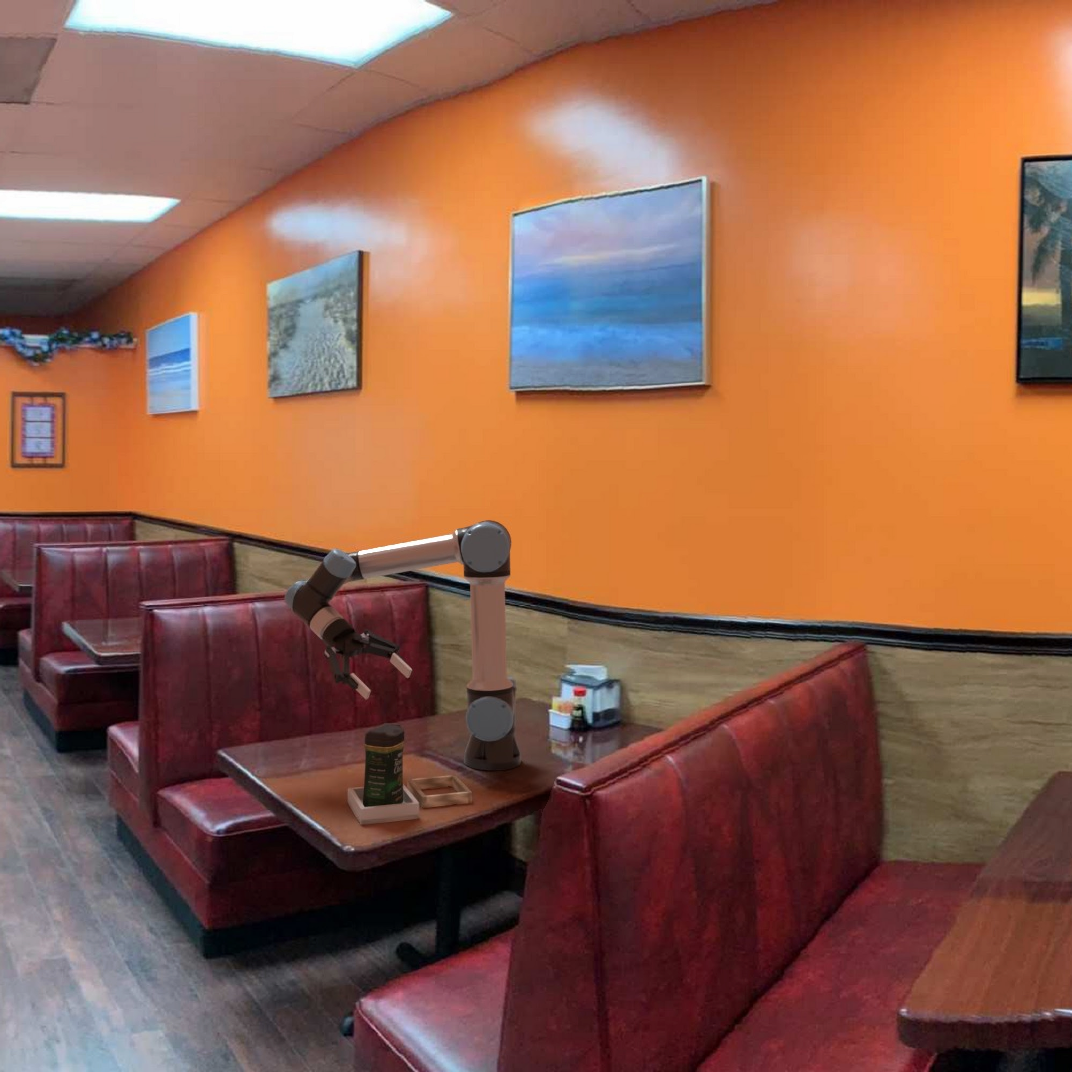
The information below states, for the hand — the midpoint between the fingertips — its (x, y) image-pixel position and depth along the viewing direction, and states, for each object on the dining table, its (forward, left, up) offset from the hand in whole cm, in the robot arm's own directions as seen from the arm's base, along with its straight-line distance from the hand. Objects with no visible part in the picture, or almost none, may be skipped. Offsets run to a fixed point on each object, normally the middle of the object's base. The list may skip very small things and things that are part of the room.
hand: (389, 684), depth 242 cm
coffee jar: (+4, +13, -25) cm, 29 cm away
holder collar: (-11, +7, -26) cm, 29 cm away
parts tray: (+4, +13, -26) cm, 29 cm away
